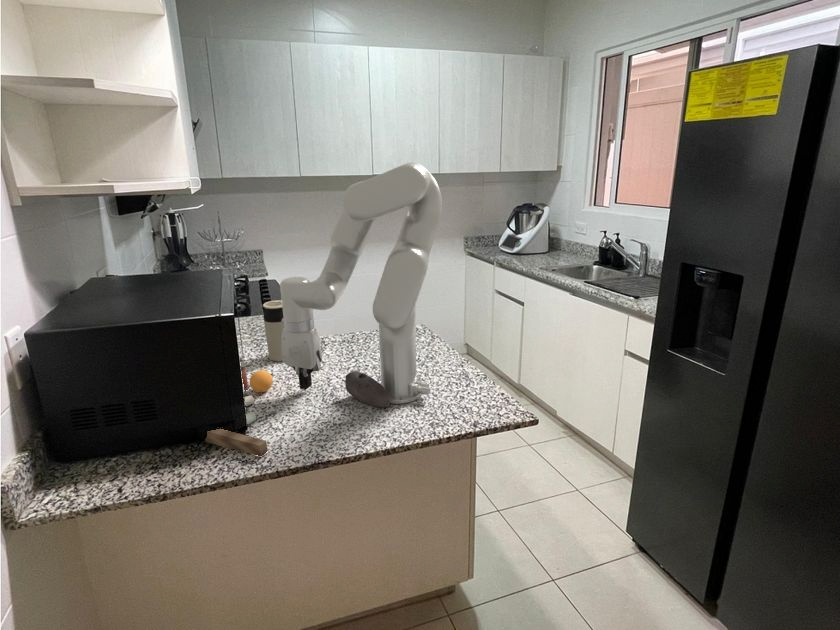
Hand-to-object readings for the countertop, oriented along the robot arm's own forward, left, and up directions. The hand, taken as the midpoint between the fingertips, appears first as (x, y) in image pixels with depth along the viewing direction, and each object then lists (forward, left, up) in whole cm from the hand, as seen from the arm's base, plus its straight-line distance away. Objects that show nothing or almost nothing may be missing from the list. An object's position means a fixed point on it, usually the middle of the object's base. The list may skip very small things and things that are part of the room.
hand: (306, 387), depth 133 cm
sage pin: (+3, +17, 0) cm, 18 cm away
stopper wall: (0, +28, -2) cm, 28 cm away
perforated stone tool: (-19, -2, -2) cm, 19 cm away
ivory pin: (+9, +11, 0) cm, 14 cm away
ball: (+12, +4, +2) cm, 13 cm away
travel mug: (+22, -17, -2) cm, 28 cm away
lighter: (+20, +5, -2) cm, 21 cm away
